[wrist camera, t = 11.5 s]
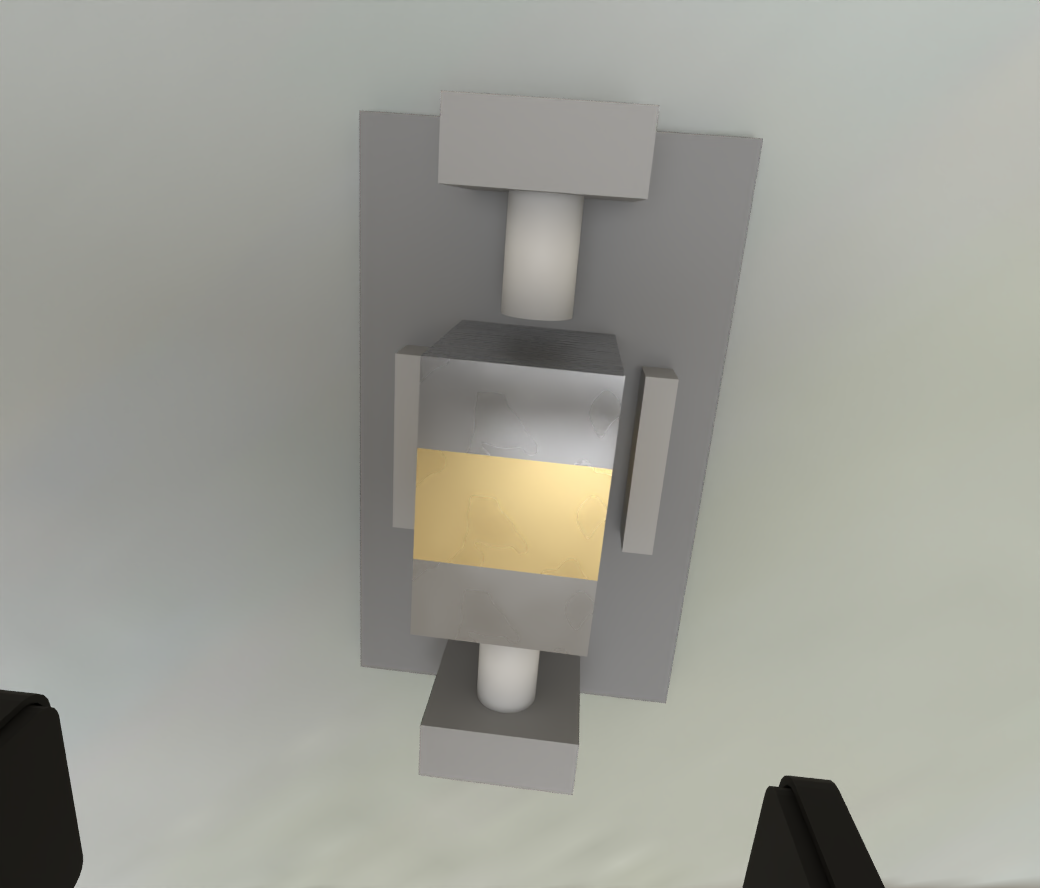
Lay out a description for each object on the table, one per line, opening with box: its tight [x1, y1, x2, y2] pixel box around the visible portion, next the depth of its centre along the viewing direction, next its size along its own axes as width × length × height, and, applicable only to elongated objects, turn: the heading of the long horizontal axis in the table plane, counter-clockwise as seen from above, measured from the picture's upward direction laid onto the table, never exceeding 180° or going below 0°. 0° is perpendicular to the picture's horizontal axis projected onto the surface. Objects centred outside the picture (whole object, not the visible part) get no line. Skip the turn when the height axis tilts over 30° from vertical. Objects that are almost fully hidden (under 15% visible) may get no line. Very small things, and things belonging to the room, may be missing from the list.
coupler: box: [410, 320, 625, 657], centre depth 21 cm, size 8×5×6 cm, turn 175°
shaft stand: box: [360, 91, 763, 795], centre depth 22 cm, size 20×12×6 cm, turn 176°
